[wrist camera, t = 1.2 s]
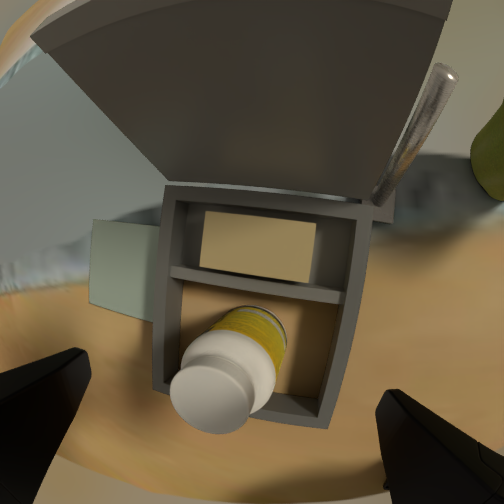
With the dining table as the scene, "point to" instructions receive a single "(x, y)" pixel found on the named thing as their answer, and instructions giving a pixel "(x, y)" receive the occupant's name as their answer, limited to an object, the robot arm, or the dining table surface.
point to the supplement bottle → (230, 370)
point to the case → (262, 272)
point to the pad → (123, 267)
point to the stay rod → (412, 140)
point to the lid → (253, 83)
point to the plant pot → (490, 156)
